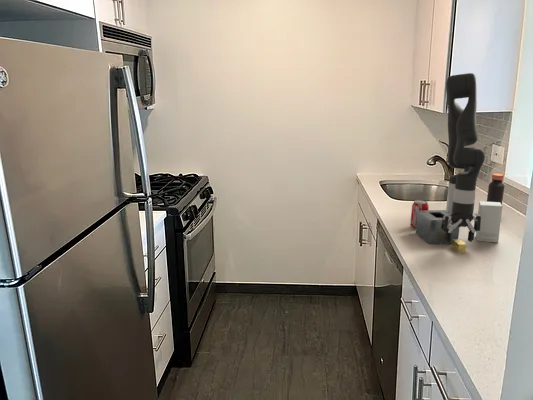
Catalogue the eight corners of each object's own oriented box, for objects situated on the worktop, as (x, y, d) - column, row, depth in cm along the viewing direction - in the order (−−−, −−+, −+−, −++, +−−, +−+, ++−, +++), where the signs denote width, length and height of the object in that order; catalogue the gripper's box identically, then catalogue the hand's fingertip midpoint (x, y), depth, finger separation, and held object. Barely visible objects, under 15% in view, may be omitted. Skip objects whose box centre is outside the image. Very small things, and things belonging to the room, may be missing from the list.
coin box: (442, 232, 199) (445, 210, 197) (457, 243, 186) (460, 219, 183) (415, 232, 199) (417, 210, 196) (428, 244, 185) (430, 220, 183)
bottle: (485, 215, 224) (490, 175, 219) (484, 212, 230) (489, 172, 225) (500, 217, 221) (506, 176, 216) (499, 213, 227) (505, 173, 222)
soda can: (427, 230, 202) (430, 204, 199) (411, 229, 203) (413, 203, 200) (425, 225, 208) (428, 200, 205) (409, 224, 210) (411, 199, 207)
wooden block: (458, 247, 182) (459, 239, 181) (465, 253, 176) (466, 244, 175) (451, 247, 182) (452, 239, 181) (458, 253, 176) (459, 244, 175)
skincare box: (496, 238, 192) (501, 202, 188) (498, 243, 186) (503, 206, 182) (474, 236, 195) (478, 200, 191) (475, 241, 189) (480, 204, 185)
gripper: (477, 198, 178) (472, 238, 182) (441, 198, 177) (436, 238, 181) (487, 202, 171) (481, 244, 175) (449, 203, 170) (445, 244, 174)
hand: (459, 241), depth 178 cm, fingers open, 8 cm apart
